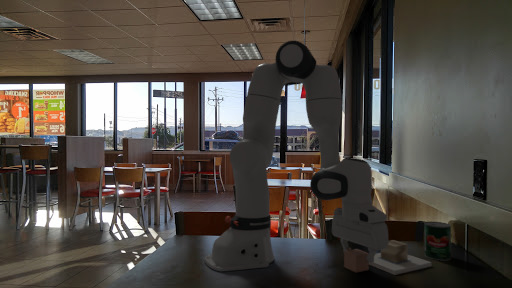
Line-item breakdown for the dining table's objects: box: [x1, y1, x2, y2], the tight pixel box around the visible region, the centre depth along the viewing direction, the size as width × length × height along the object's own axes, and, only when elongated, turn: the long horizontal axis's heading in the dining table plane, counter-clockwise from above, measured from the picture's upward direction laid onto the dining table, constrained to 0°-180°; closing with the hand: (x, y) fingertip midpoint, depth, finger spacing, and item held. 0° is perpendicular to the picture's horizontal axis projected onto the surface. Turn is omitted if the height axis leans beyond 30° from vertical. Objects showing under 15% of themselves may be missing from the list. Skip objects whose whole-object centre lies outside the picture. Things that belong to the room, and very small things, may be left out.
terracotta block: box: [343, 248, 370, 273], centre depth 102 cm, size 5×5×5 cm
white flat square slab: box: [369, 252, 433, 276], centre depth 107 cm, size 16×14×1 cm
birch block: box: [380, 239, 409, 263], centre depth 107 cm, size 6×6×5 cm
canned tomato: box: [423, 220, 452, 262], centre depth 113 cm, size 8×8×11 cm
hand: (358, 257), depth 102 cm, fingers open, 8 cm apart
